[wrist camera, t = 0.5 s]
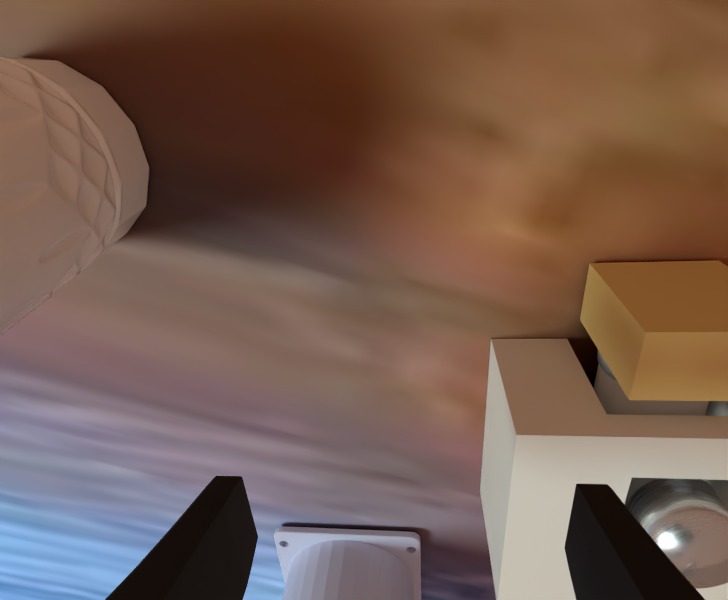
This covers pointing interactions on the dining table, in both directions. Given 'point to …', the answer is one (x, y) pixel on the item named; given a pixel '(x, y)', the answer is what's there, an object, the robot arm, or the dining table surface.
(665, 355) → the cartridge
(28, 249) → the white cup
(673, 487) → the plunger
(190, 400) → the dining table surface
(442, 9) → the dining table surface
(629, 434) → the housing
